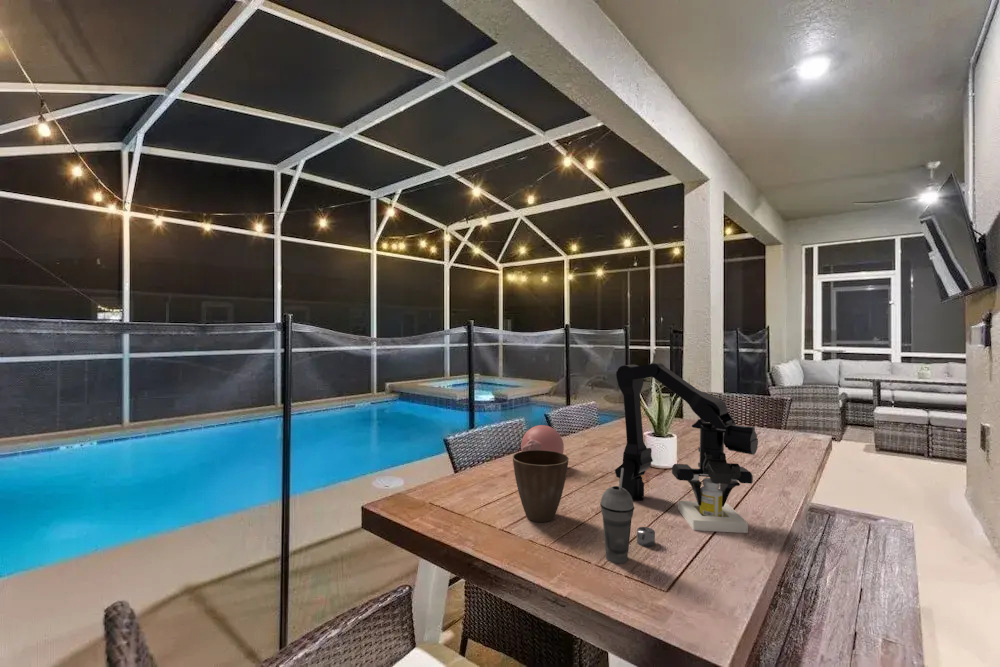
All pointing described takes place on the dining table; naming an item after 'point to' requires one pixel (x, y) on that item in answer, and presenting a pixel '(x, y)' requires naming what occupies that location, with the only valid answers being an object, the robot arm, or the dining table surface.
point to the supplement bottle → (711, 499)
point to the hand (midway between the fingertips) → (710, 505)
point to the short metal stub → (646, 537)
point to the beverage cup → (617, 521)
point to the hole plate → (712, 518)
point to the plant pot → (540, 482)
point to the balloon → (542, 439)
